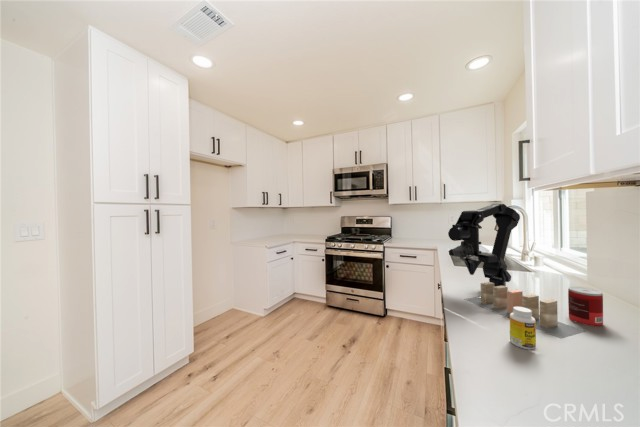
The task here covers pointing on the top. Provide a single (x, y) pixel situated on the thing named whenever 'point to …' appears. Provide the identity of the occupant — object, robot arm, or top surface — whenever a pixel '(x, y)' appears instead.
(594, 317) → the canned food
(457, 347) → the top surface
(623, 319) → the top surface
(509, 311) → the domino
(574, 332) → the mat
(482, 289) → the domino
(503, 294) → the domino
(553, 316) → the wooden block
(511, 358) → the top surface
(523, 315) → the supplement bottle
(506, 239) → the robot arm
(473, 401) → the top surface
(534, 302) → the domino
